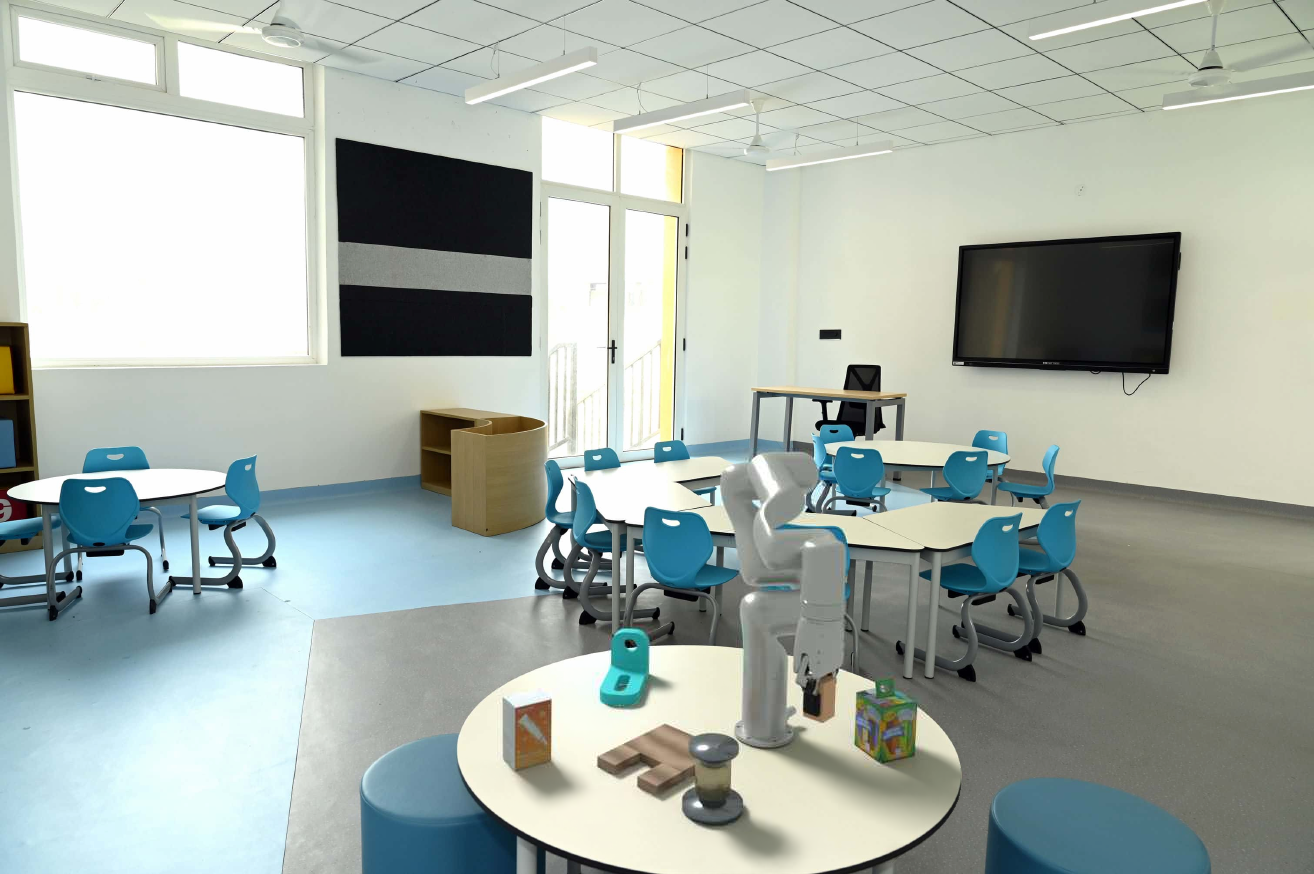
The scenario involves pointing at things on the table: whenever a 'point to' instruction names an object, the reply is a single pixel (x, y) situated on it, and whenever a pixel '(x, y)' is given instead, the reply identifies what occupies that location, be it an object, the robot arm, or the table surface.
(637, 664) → the bracket
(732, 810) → the bobbin
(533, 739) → the small box
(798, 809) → the table surface
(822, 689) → the light orange block
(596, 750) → the table surface
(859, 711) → the chalk box
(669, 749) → the notched board
